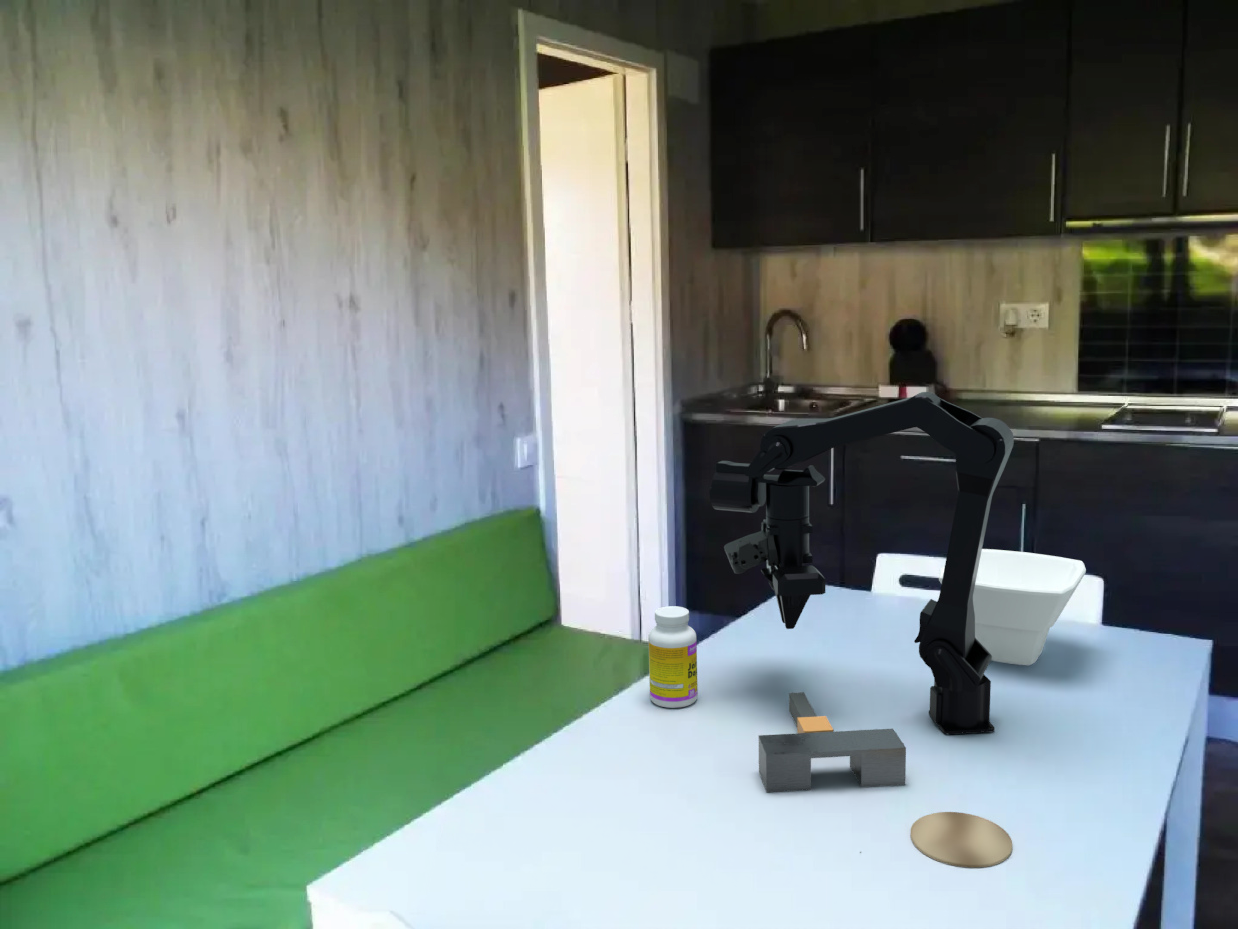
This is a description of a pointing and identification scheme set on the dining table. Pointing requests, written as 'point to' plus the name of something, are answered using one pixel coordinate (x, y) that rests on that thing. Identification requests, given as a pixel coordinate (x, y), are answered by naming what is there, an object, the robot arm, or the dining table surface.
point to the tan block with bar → (806, 715)
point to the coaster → (961, 839)
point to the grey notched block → (870, 756)
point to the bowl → (1020, 601)
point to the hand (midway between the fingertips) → (788, 625)
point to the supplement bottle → (672, 659)
